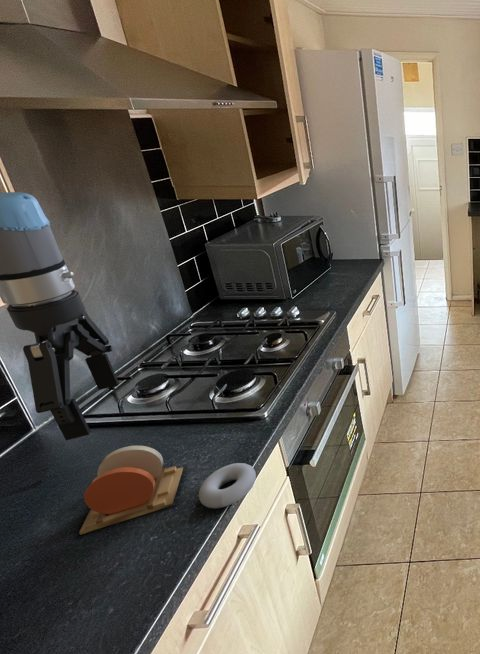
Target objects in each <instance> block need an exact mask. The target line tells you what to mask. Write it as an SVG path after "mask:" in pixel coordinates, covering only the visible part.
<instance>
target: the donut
mask: <svg viewBox="0 0 480 654" xmlns="http://www.w3.org/2000/svg"><path fill="white" fill-rule="evenodd" d="M256 475H257V473H256V470H255V469H254V467H253V466H252V465H250V464H248V463H245V462H235V463H230V464H227V465H224V466H222V467H220V468H218V469H216V470H215V471H214V472H212V473H211V474H210V475H208V476H207V478H206V479H205V480H204V481H203V482H202V484H201V485H200V488H199V489H198V500H199V502H200V504H201V505H202V506H204V507H206V508H208V509H222V508H226V507H228V506H231V505H234V504H235V503H237V502H238V501H240V500H241V499H243V498H244V497H245V496H247V494H248V493H250V491H251V490H252V489H253V487H254V486H255V482H256V480H257V476H256ZM232 481H235V482H234V483H233V484H232V485H230V486H228V487H225V488H221V487H222V486H224V485H225V484H227V483H230V482H232Z"/></svg>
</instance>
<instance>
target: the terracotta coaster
mask: <svg viewBox="0 0 480 654" xmlns="http://www.w3.org/2000/svg"><path fill="white" fill-rule="evenodd" d="M154 488H155V480H154V478H153V476H152V475H151V474H150V473H149V472H147V471H145V470H143V469H139V468H134V467H122V468H116V469H112V470H109V471H107V472H104V473H102V474H100V475H99V476H98V475H97V476H96V477H95V478H94V479H92V480H91V482H90V483H89V484H88V486H87V488H86V490H85V492H84V495H83V497H84V498H83V499H84V502H85V504H86V506H87V507H88V509H90V510H91V509H92V510H94V511H96V512H99V513H103V514H116V513H120V512H123V511H126V510H129V509H132V508H136V507H139V506H142V505H143V504H145V503H146V502H147V501H148V500H149V499H150V497H151V496H152V494H153V491H154Z"/></svg>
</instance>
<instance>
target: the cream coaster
mask: <svg viewBox="0 0 480 654" xmlns="http://www.w3.org/2000/svg"><path fill="white" fill-rule="evenodd" d="M122 467H134V468H139V469H143V470H145V471H147V472H149V473H150V474H151V475H152V476H153V478H154V480H155V479H156V478H157V477H158V475H159V474H160V472H161V470H162V468H164V457H163V456H162V454H161V453H160V452H159V451H158V450H156V449H154V448H153V447H150V446H146V445H128V446H124V447H120V448H118V449H116V450H113V451H112V452H110V453H109V454H107V455H106V456H105V457H104V458H103V459H102V461H101V462H100V464H99V466H98V468H97V472H96V473H97V476H99V475H100V474H102V473H104V472H107V471H109V470H112V469H116V468H122Z"/></svg>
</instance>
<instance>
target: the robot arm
mask: <svg viewBox="0 0 480 654" xmlns="http://www.w3.org/2000/svg"><path fill="white" fill-rule="evenodd" d="M74 277H75V273H74V272H73V271H70V270H69V269H68V266H67V264H66V262H65V260H64V257H63V255H62V253H61V251H60V248H59V245H58V243H57V240H56V238H55V236H54V234H53V230H52V228H51V222H50V220H49V219H48V218H47V216H46V215H45V213H44V211H43V209H42V207H41V205H40V203H39V201H38V199H37V198H36V197H35V196H34V195H32V194H29V193H27V192H21V191H20V192H19V191H17V192H16V191H7V192H6V191H5V192H0V300H1V301H2V303H3V304H5V305H8V306H7V307H6V311H7V312H8V315H9V317H10V318H11V320H12V322H13V325H14V326H15V328H16V329H17V330H21V331H27V332H32V333H33V334H34V340H35V343H33V344H27V345H24V346H23V347H22V350H23V354H24V355H25V356H24V357H25V359H26V361H27V364H28V365H27V366H28V371H29V376H30V383H31V390H32V394H33V395H32V396H33V402H34V406H35V412H36V413H37V414H41V413H45V412H50V413H51V415H52V417H53V419H54V420H55V423H56V424H57V426H58V428H59V430H60V432H61V434H62V436H63V438H64V440H65V441H70V440H74V439H78V438H81V437H86V436H89V435H90V434H91V433H92V432H91V429H90V427H89V425H88V422H87V420H86V419H85V416H84V414H83V412H82V411H81V408H80V407H79V404H78V402H77V400H76V398H71V371H70V369H71V368H70V367H71V365H70V361H71V360H73V359H74V356H75V355H74V354H75V353H74V350H77V351H78V352H79V353H82V354H84V355H86V356H87V357H86V358H85V359H84V361H85V362H86V365H87V367H88V369H89V371H90V374H91V376H92V378H93V381H94V383H95V385H96V387H97V389H98V390H99V391H100V390H106V389H110V388H114V387H118V386H119V385H120V382H119V380H118V377H117V375H116V372H115V370H114V368H113V365H112V363H111V361H110V359H109V356H108V353H111V352H113V346H112V345H110V340H109V338H108V337H107V336H106V335H105V333H103V332H102V330H101V329H100V328H99V327H98V325H97V324H96V323H95V322H94V321H93V319H91V317H90V316H89V314H88V312H87V310H86V307H85V304H84V303H83V302H84V301H83V300H82V297H81V295H80V293H79V291H77V290H75V287H76V285H75V282H74V280H73V278H74Z"/></svg>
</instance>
